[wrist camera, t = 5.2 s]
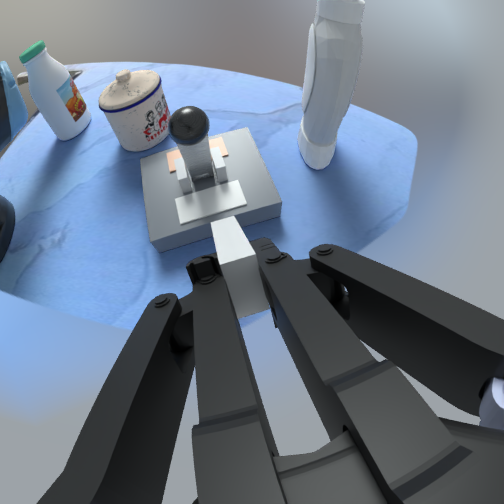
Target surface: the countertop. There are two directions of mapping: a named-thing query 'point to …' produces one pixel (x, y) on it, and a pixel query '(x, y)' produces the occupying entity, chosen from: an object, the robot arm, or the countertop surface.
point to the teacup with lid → (136, 109)
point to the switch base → (206, 191)
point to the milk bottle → (55, 93)
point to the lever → (192, 140)
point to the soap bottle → (329, 77)
